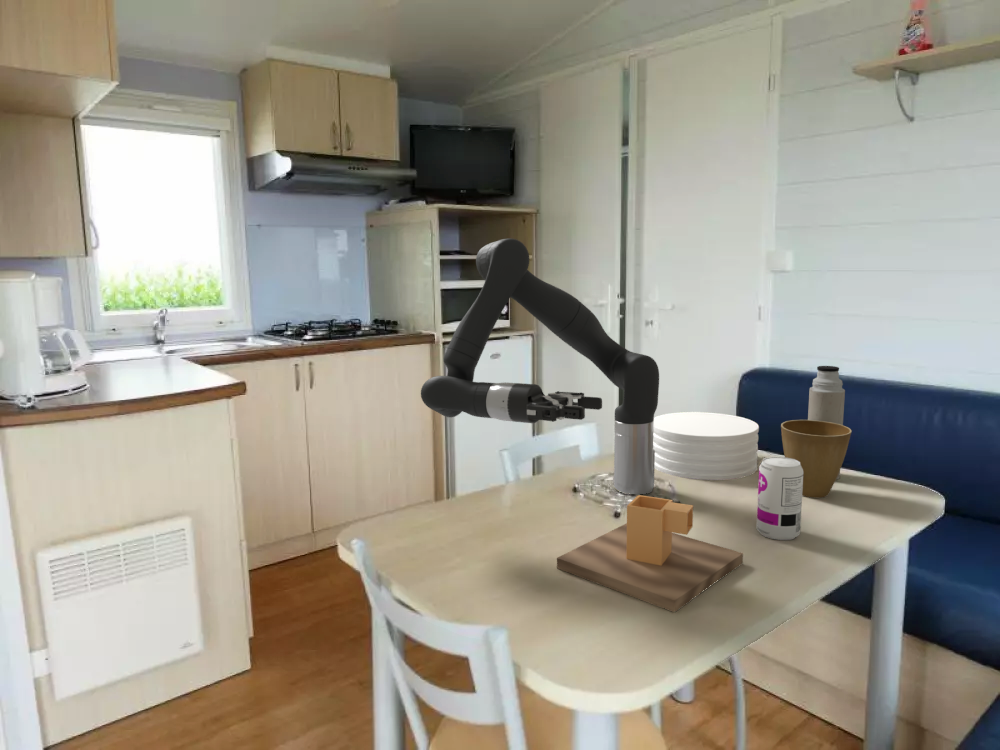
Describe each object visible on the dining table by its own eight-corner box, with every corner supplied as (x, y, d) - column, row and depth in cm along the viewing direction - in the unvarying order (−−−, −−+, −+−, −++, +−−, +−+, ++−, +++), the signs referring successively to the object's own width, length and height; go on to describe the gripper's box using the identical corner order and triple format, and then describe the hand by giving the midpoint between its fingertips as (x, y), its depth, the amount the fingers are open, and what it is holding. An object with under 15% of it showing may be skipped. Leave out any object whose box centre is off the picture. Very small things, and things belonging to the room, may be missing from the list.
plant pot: (771, 496, 162) (774, 429, 159) (785, 479, 174) (788, 417, 171) (842, 508, 153) (846, 438, 151) (851, 489, 166) (855, 423, 163)
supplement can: (756, 538, 138) (759, 465, 135) (756, 523, 146) (759, 454, 143) (800, 543, 135) (804, 469, 133) (798, 528, 143) (802, 457, 140)
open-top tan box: (626, 558, 125) (627, 505, 124) (637, 545, 131) (638, 494, 129) (684, 570, 120) (685, 515, 119) (693, 556, 126) (694, 503, 124)
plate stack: (694, 486, 170) (695, 441, 168) (629, 458, 196) (629, 418, 194) (780, 471, 181) (782, 428, 179) (708, 446, 207) (709, 408, 205)
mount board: (631, 530, 143) (631, 520, 143) (742, 563, 127) (742, 553, 127) (557, 568, 127) (556, 557, 126) (674, 612, 110) (674, 600, 110)
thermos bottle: (830, 470, 180) (837, 363, 176) (845, 480, 172) (852, 368, 168) (799, 471, 180) (805, 364, 176) (813, 480, 172) (819, 369, 168)
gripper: (496, 390, 128) (577, 395, 121) (530, 377, 141) (606, 381, 133) (497, 429, 130) (578, 437, 122) (531, 413, 142) (607, 419, 134)
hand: (593, 408), depth 127 cm, fingers open, 8 cm apart
